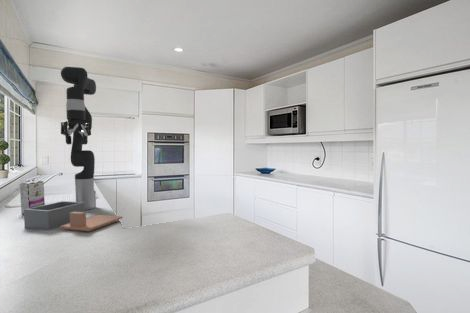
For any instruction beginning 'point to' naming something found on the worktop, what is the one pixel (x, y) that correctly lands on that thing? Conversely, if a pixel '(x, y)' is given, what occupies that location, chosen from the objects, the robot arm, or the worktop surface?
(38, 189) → the candy bar box
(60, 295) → the worktop surface
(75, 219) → the lid
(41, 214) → the tub
